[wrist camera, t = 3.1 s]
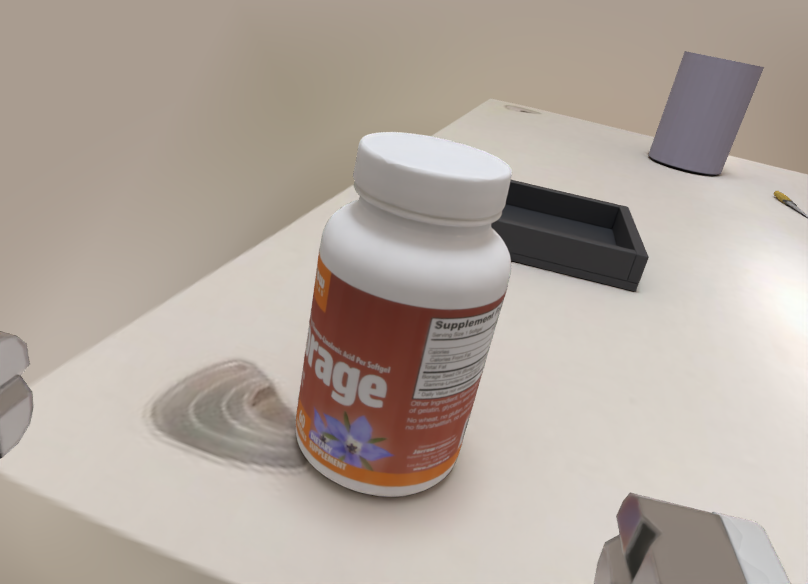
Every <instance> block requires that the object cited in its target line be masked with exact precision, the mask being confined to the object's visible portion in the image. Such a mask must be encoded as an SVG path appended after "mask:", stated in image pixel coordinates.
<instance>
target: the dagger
mask: <svg viewBox="0 0 808 584" xmlns="http://www.w3.org/2000/svg"><path fill="white" fill-rule="evenodd" d="M774 196H776V197H777V199H779V200H780V201H781V202H782V203H784V204H786V205H787V206H791V207H792V208H794V209H795V210H797V211H798V212H800V213H801V214H803V215H804V216H806V217H807V218H808V216H807V215H806V214H805V213H804V212H803V211H801V210H800V209H799V208H798V207H797V205H796V204H795V203H793V202H792V201H791V200H790V199H789V198H788V197H787V196H786V195H784V194H783V193H781V192H779V191H775V192H774Z"/></svg>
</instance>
